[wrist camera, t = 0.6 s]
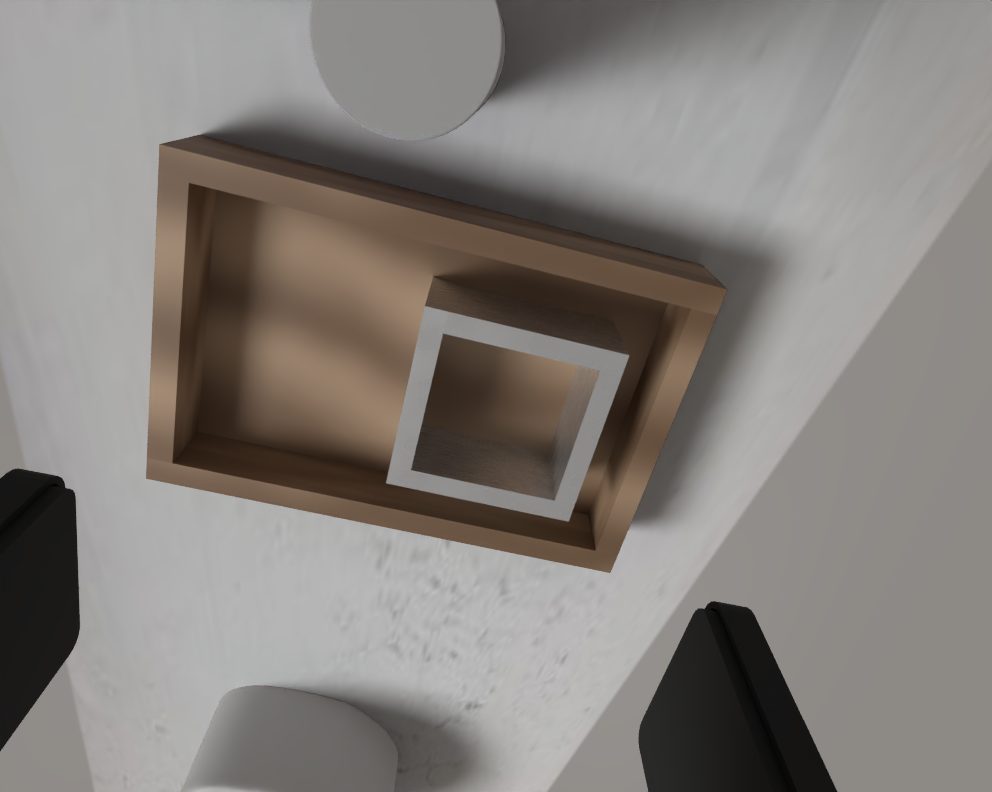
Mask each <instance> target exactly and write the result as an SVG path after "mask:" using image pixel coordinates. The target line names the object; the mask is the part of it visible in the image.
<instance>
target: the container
mask: <svg viewBox="0 0 992 792" xmlns="http://www.w3.org/2000/svg"><path fill="white" fill-rule="evenodd" d="M310 41H311V48H312V53H313V57H314V61H315V64H316V67H317V70H318V72H319V75H320V77H321V79H322V81H323V83H324V85H325V87H326V89H327V90H328V92H329V94H330V95H331V97H332V98H333V99H334V101H335V102H336V103H337V104H338V106H339V107H340V108H341V109H342V110H343V111H344V112H345V113H346V114H347V115H348V116H349V117H350V118H352V119H353V120H354V121H355V122H357V123H358V124H359V125H361V126H363V127H364V128H366V129H368V130H370V131H372V132H373V133H376V134H378V135H381V136H384V137H387V138H391V139H395V140H401V141H422V140H428V139H432V138H436V137H439V136H442V135H444V134H447V133H449V132H451V131H453V130H454V129H456V128H458V127H459V126H461V125H462V124H463V123H465V122H466V121H467V120H468V119H469V118H470V117H471V116H472V115H473V114H475V113H476V112H477V111H478V110H479V109H480V108H481V107H482V106H483V105H484V104H485V102H486V101H487V100H488V99H489V97H490V95H491V94H492V92H493V91H494V89H495V87H496V85H497V83H498V80H499V78H500V75H501V71H502V68H503V63H504V58H505V31H504V24H503V20H502V16H501V13H500V10H499V7H498V3H497V0H312V4H311V11H310Z"/></svg>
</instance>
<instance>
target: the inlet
mask: <svg viewBox="0 0 992 792" xmlns="http://www.w3.org/2000/svg"><path fill="white" fill-rule="evenodd" d="M443 334H447V335H451V336H456V337H460V338H464V339H468V340H473V341H477V342H481V343H485V344H490V345H494V346H498V347H502V348H506V349H511V350H515V351H519V352H523V353H528V354H532V355H536V356H540V357H544V358H549V359H553V360H557V361H561V362H566V363H570V364H574V365H577V368H576V371H575V374H574V377H573V380H572V383H571V386H570V389H569V392H568V395H567V398H566V401H565V404H564V407H563V410H562V413H561V416H560V419H559V422H558V425H557V428H556V431H555V434H554V437H553V440H552V443H551V446H550V449H549V452H548V453H546V452H542V451H537V450H533V449H528V448H523V447H519V446H514V445H510V444H505V443H501V442H496V441H492V440H487V439H483V438H478V437H474V436H469V435H465V434H460V433H456V432H451V431H447V430H442V429H438V428H433V427H428V426H424V425H422V421H423V417H424V412H425V408H426V404H427V400H428V395H429V391H430V387H431V383H432V378H433V374H434V370H435V366H436V361H437V357H438V353H439V349H440V344H441V340H442V336H443ZM628 358H629V353H628V351H627V349H626V347H625V345H624V342H623V340H622V338H621V336H620V334H619V332H618V329H617V327H616V325H615V323H614V321H613V320H610V319H606V318H602V317H598V316H594V315H589V314H585V313H581V312H577V311H573V310H569V309H565V308H561V307H557V306H553V305H549V304H545V303H541V302H537V301H532V300H528V299H524V298H520V297H516V296H512V295H508V294H504V293H500V292H496V291H492V290H488V289H484V288H480V287H475V286H471V285H467V284H463V283H459V282H455V281H451V280H447V279H443V278H439V277H435V276H433V279H432V283H431V286H430V290H429V293H428V296H427V300H426V303H425V307H424V312H423V316H422V321H421V325H420V330H419V335H418V339H417V344H416V348H415V353H414V357H413V362H412V366H411V371H410V376H409V380H408V385H407V389H406V394H405V398H404V403H403V408H402V412H401V417H400V421H399V426H398V430H397V435H396V440H395V444H394V449H393V453H392V458H391V462H390V467H389V472H388V476H387V481H386V483H387V484H392V485H397V486H401V487H406V488H411V489H416V490H420V491H425V492H430V493H435V494H440V495H444V496H449V497H454V498H459V499H463V500H468V501H473V502H478V503H482V504H487V505H492V506H497V507H501V508H506V509H511V510H516V511H520V512H525V513H530V514H535V515H539V516H544V517H549V518H554V519H558V520H563V521H568V522H569V519H570V517H571V514H572V511H573V509H574V506H575V503H576V500H577V498H578V495H579V492H580V489H581V487H582V484H583V481H584V478H585V476H586V473H587V470H588V468H589V465H590V462H591V459H592V457H593V454H594V451H595V448H596V446H597V443H598V440H599V437H600V435H601V432H602V429H603V426H604V424H605V421H606V418H607V416H608V413H609V410H610V407H611V405H612V402H613V399H614V396H615V394H616V391H617V388H618V385H619V383H620V380H621V377H622V375H623V372H624V369H625V366H626V364H627V361H628Z"/></svg>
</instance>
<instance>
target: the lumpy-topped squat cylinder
mask: <svg viewBox="0 0 992 792" xmlns="http://www.w3.org/2000/svg"><path fill="white" fill-rule="evenodd" d="M398 761H399V754H398V750H397V748H396V745H395V743H394V742H393V740H392V738H391V737H390V736H389V734H388V733H387V732H386V730H385V729H384V728H382V727H381V726H380V725H379V724H378V723H377V722H375V721H374V720H373V719H371V718H370V717H369V716H367V715H366V714H364V713H363V712H361V711H360V710H358V709H357V708H355V707H353V706H352V705H350V704H347V703H345V702H342V701H338V700H335V699H331V698H328V697H324V696H320V695H316V694H311V693H307V692H302V691H297V690H291V689H283V688H277V687H271V686H245V687H240V688H237V689H234V690H231V691H229V692H228V693H226V694H225V695H224V696H223V697H222V698H221V699H220V701H219V704H218V706H217V708H216V711H215V713H214V715H213V718H212V720H211V722H210V725H209V727H208V729H207V732H206V734H205V736H204V738H203V741H202V743H201V745H200V748H199V750H198V752H197V755H196V757H195V759H194V762H193V764H192V766H191V769H190V771H189V773H188V776H187V778H186V781H185V783H184V786H183V788H182V790H181V792H394V790H395V782H396V775H397V768H398Z"/></svg>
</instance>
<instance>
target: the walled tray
mask: <svg viewBox="0 0 992 792" xmlns="http://www.w3.org/2000/svg"><path fill="white" fill-rule="evenodd" d="M433 276H435V277H439V278H443V279H447V280H451V281H455V282H459V283H463V284H467V285H471V286H475V287H480V288H484V289H488V290H492V291H496V292H500V293H504V294H508V295H512V296H516V297H520V298H524V299H528V300H532V301H537V302H541V303H545V304H549V305H553V306H557V307H561V308H565V309H569V310H573V311H577V312H581V313H585V314H589V315H594V316H598V317H602V318H606V319H610V320H613V321H614V323H615V325H616V327H617V329H618V332H619V334H620V336H621V338H622V340H623V342H624V345H625V347H626V349H627V351H628V353H629V358H628V361H627V364H626V366H625V369H624V372H623V375H622V377H621V380H620V383H619V385H618V388H617V391H616V394H615V396H614V399H613V402H612V405H611V407H610V410H609V413H608V416H607V418H606V421H605V424H604V426H603V429H602V432H601V435H600V437H599V440H598V443H597V446H596V448H595V451H594V454H593V457H592V459H591V462H590V465H589V468H588V470H587V473H586V476H585V478H584V481H583V484H582V487H581V489H580V492H579V495H578V498H577V500H576V503H575V506H574V509H573V511H572V514H571V517H570V519H569V522H568V521H563V520H558V519H554V518H549V517H544V516H539V515H535V514H530V513H525V512H520V511H516V510H511V509H506V508H501V507H497V506H492V505H487V504H482V503H478V502H473V501H468V500H463V499H459V498H454V497H449V496H444V495H440V494H435V493H430V492H425V491H420V490H416V489H411V488H406V487H401V486H397V485H392V484H387V483H386V481H387V476H388V472H389V467H390V462H391V458H392V453H393V449H394V444H395V440H396V435H397V430H398V426H399V421H400V417H401V412H402V408H403V403H404V398H405V394H406V389H407V385H408V380H409V376H410V371H411V366H412V362H413V357H414V353H415V348H416V344H417V339H418V335H419V330H420V325H421V321H422V316H423V312H424V307H425V303H426V300H427V296H428V293H429V290H430V286H431V283H432V279H433ZM727 290H728V289H727V288H725V287H724V286H723V285H722V284H721V283H720V282H719V281H718V280H717V279H716V278H715V277H714V276H713V275H712V274H711V273H710V272H709V271H708V270H707V269H706V268H705V267H704V266H703V265H699V264H696V263H692V262H688V261H684V260H680V259H676V258H672V257H668V256H665V255H661V254H657V253H653V252H649V251H645V250H641V249H638V248H634V247H630V246H626V245H622V244H618V243H614V242H611V241H607V240H603V239H599V238H595V237H591V236H587V235H583V234H580V233H576V232H572V231H568V230H564V229H560V228H556V227H553V226H549V225H545V224H541V223H537V222H533V221H529V220H525V219H522V218H518V217H514V216H510V215H506V214H502V213H498V212H495V211H491V210H487V209H483V208H479V207H475V206H471V205H467V204H464V203H460V202H456V201H452V200H448V199H444V198H440V197H437V196H433V195H429V194H425V193H421V192H417V191H413V190H409V189H406V188H402V187H398V186H394V185H390V184H386V183H382V182H379V181H375V180H371V179H367V178H363V177H359V176H355V175H351V174H348V173H344V172H340V171H336V170H332V169H328V168H324V167H321V166H317V165H313V164H309V163H305V162H301V161H297V160H293V159H290V158H286V157H282V156H278V155H274V154H270V153H266V152H263V151H259V150H255V149H251V148H247V147H243V146H239V145H236V144H232V143H228V142H224V141H220V140H216V139H212V138H208V137H205V136H201V135H197V136H193V137H189V138H184V139H180V140H176V141H172V142H167V143H163V144H160V146H159V172H158V197H157V222H156V247H155V272H154V297H153V322H152V347H151V372H150V397H149V422H148V447H147V472H146V479H151V480H156V481H161V482H166V483H171V484H176V485H180V486H185V487H190V488H195V489H200V490H205V491H210V492H215V493H220V494H225V495H230V496H235V497H239V498H244V499H249V500H254V501H259V502H264V503H269V504H274V505H279V506H284V507H289V508H294V509H298V510H303V511H308V512H313V513H318V514H323V515H328V516H333V517H338V518H343V519H348V520H353V521H357V522H362V523H367V524H372V525H377V526H382V527H387V528H392V529H397V530H402V531H407V532H412V533H417V534H421V535H426V536H431V537H436V538H441V539H446V540H451V541H456V542H461V543H466V544H471V545H476V546H480V547H485V548H490V549H495V550H500V551H505V552H510V553H515V554H520V555H525V556H530V557H535V558H539V559H544V560H549V561H554V562H559V563H564V564H569V565H574V566H579V567H584V568H589V569H594V570H598V571H603V572H608V573H610V572H611V570H612V568H613V565H614V563H615V560H616V558H617V556H618V553H619V551H620V548H621V546H622V543H623V541H624V539H625V536H626V534H627V531H628V529H629V527H630V524H631V522H632V519H633V517H634V514H635V512H636V510H637V507H638V505H639V502H640V500H641V498H642V495H643V493H644V490H645V488H646V485H647V483H648V481H649V478H650V476H651V473H652V471H653V469H654V466H655V464H656V461H657V459H658V456H659V454H660V452H661V449H662V447H663V444H664V442H665V440H666V437H667V435H668V432H669V430H670V427H671V425H672V423H673V420H674V418H675V415H676V413H677V411H678V408H679V406H680V403H681V401H682V398H683V396H684V394H685V391H686V389H687V386H688V384H689V382H690V379H691V377H692V374H693V372H694V370H695V367H696V365H697V362H698V360H699V357H700V355H701V353H702V350H703V348H704V345H705V343H706V341H707V338H708V336H709V333H710V331H711V328H712V326H713V324H714V321H715V319H716V316H717V314H718V312H719V309H720V307H721V304H722V302H723V299H724V297H725V295H726V292H727ZM576 368H577V365H574V364H570V363H566V362H561V361H557V360H553V359H549V358H544V357H540V356H536V355H532V354H528V353H523V352H519V351H515V350H511V349H506V348H502V347H498V346H494V345H490V344H485V343H481V342H477V341H473V340H468V339H464V338H460V337H456V336H451V335H447V334H443V336H442V340H441V344H440V349H439V353H438V357H437V361H436V366H435V370H434V374H433V378H432V383H431V387H430V391H429V395H428V400H427V404H426V408H425V412H424V417H423V421H422V425H424V426H428V427H433V428H438V429H442V430H447V431H451V432H456V433H460V434H465V435H469V436H474V437H478V438H483V439H487V440H492V441H496V442H501V443H505V444H510V445H514V446H519V447H523V448H528V449H533V450H537V451H542V452H546V453H548V452H549V449H550V446H551V443H552V440H553V437H554V434H555V431H556V428H557V425H558V422H559V419H560V416H561V413H562V410H563V407H564V404H565V401H566V398H567V395H568V392H569V389H570V386H571V383H572V380H573V377H574V374H575V371H576Z"/></svg>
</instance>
